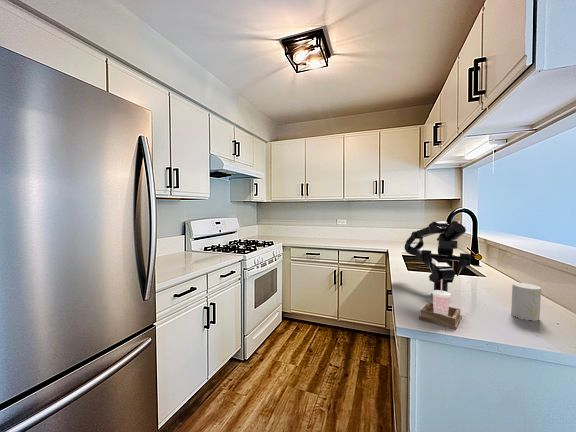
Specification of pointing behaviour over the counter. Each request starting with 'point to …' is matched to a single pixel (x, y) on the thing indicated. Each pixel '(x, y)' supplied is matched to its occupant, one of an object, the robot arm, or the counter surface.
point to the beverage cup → (441, 301)
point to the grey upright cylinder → (526, 301)
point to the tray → (441, 316)
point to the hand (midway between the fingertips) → (444, 274)
